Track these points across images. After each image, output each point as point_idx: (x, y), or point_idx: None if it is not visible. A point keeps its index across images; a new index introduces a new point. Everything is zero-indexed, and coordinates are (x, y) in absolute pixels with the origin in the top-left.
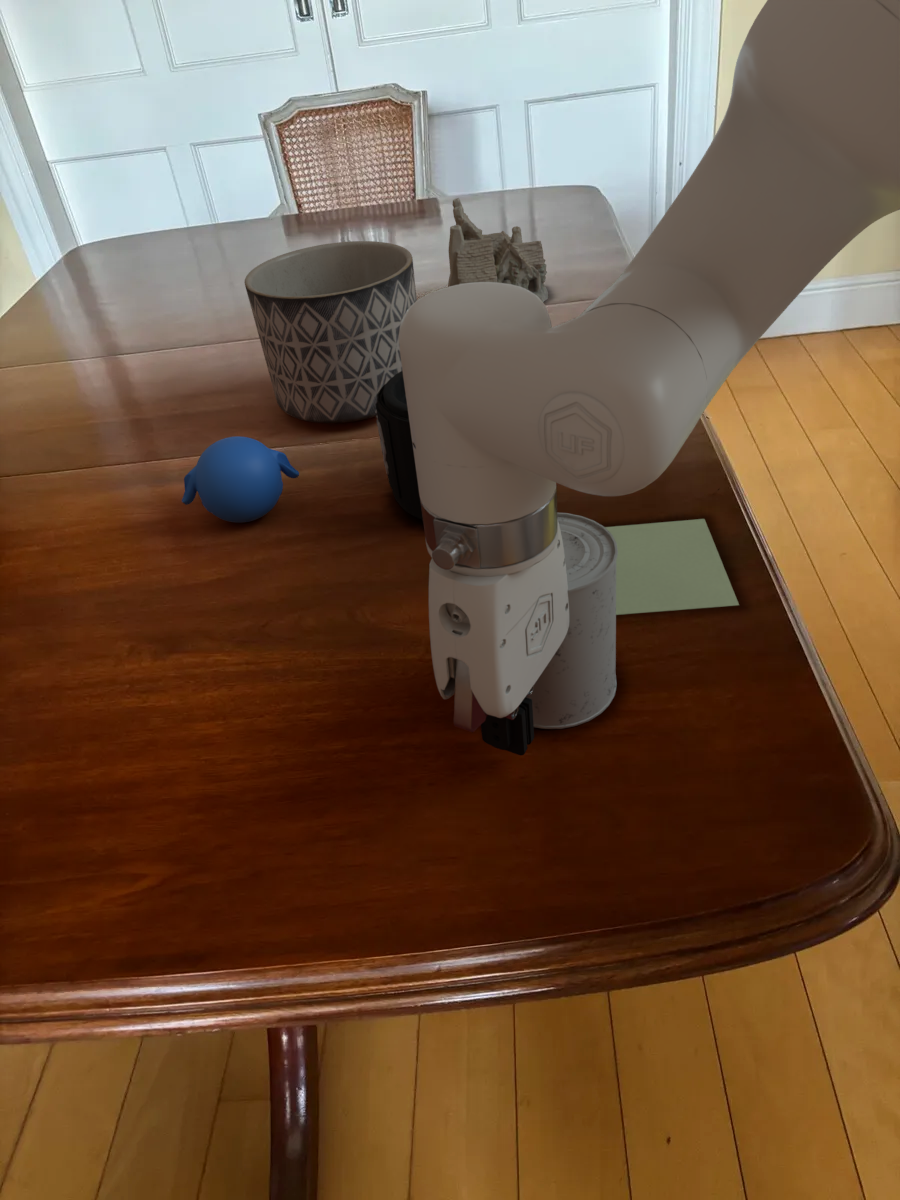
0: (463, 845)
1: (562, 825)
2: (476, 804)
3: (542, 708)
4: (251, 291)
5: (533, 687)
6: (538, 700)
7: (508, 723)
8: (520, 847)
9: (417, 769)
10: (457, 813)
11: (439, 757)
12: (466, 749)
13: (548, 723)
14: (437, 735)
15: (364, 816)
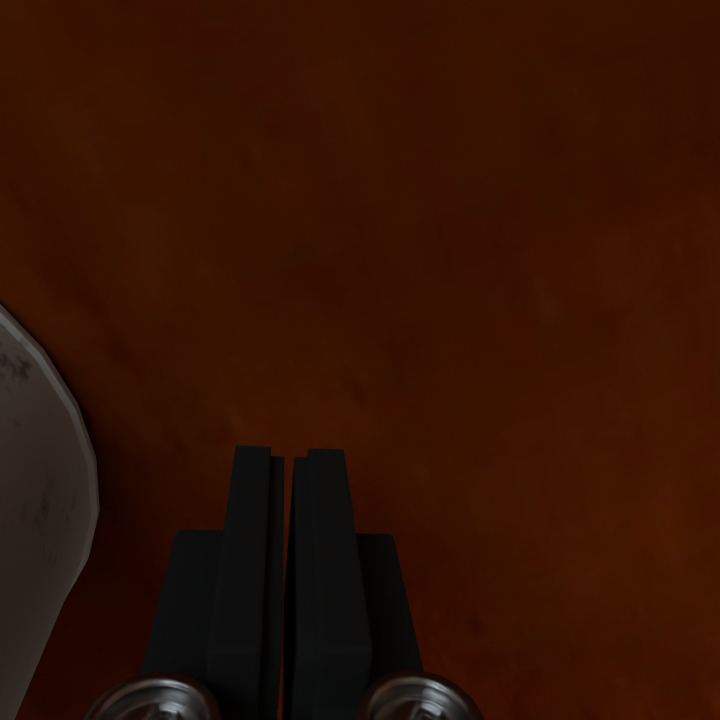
0: (690, 453)
1: (544, 166)
2: (521, 483)
3: (37, 481)
4: None
5: (115, 700)
6: (22, 528)
7: (387, 648)
8: (672, 282)
9: None
10: (570, 518)
11: None
12: None
13: (57, 410)
14: None
15: (630, 712)
